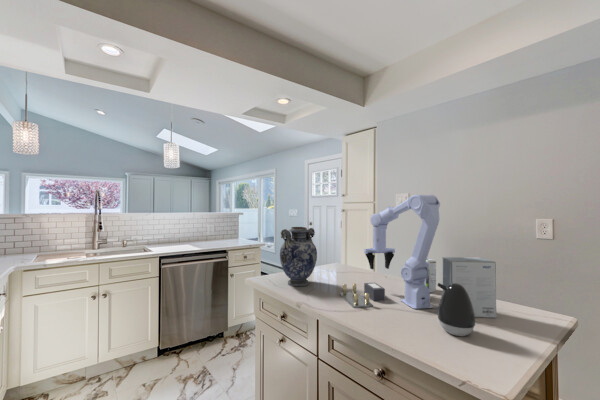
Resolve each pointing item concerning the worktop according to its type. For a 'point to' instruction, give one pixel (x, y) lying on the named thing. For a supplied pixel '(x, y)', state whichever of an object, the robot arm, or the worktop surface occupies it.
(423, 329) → the worktop surface
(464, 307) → the pump dispenser
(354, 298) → the brass peg board
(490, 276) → the hard drive box
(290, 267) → the decorative vase
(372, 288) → the block
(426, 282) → the syrup box
